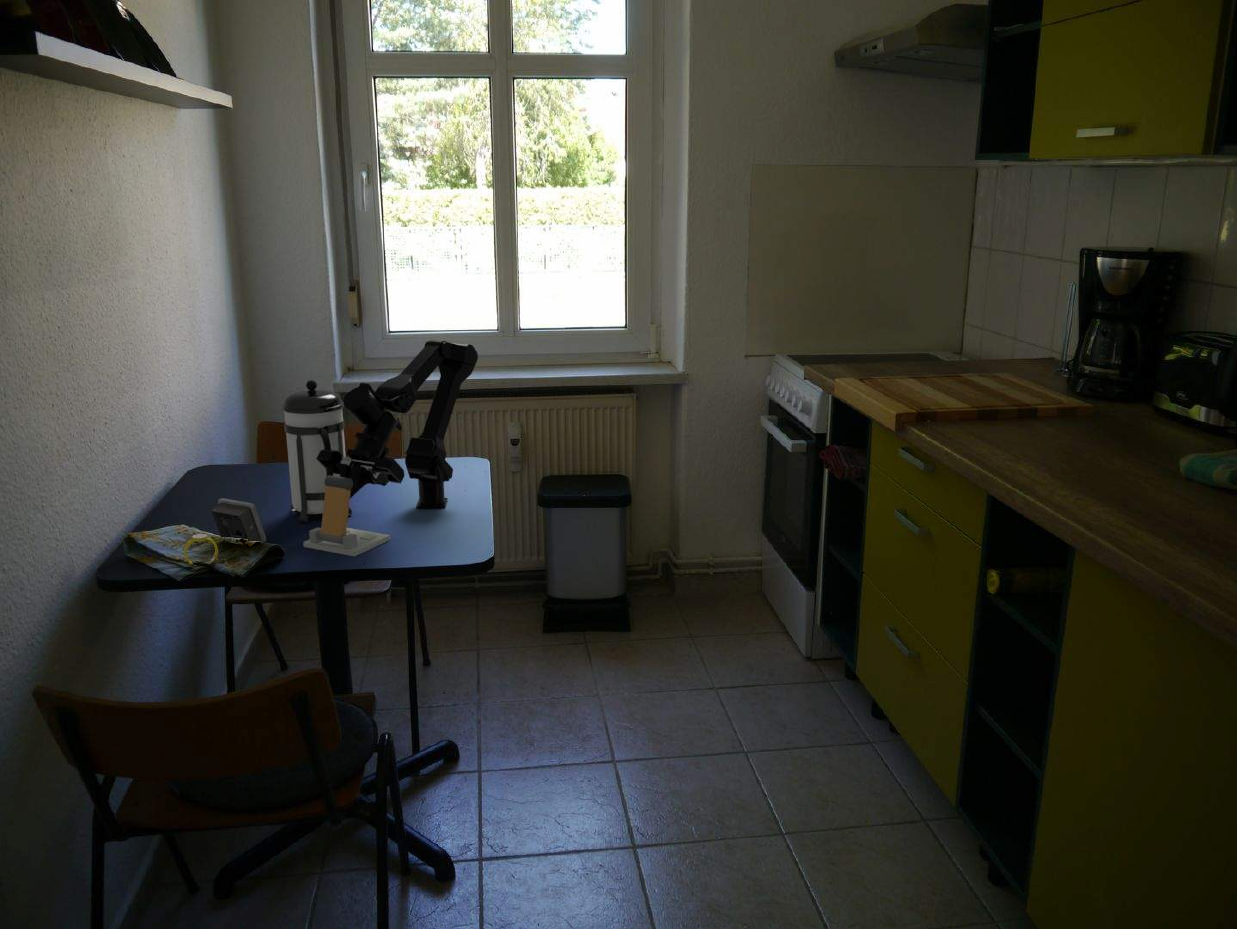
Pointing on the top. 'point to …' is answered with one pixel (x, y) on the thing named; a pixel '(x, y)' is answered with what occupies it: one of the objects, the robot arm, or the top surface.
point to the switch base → (347, 542)
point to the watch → (199, 538)
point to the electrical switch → (238, 520)
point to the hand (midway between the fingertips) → (343, 501)
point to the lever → (335, 509)
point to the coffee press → (312, 445)
